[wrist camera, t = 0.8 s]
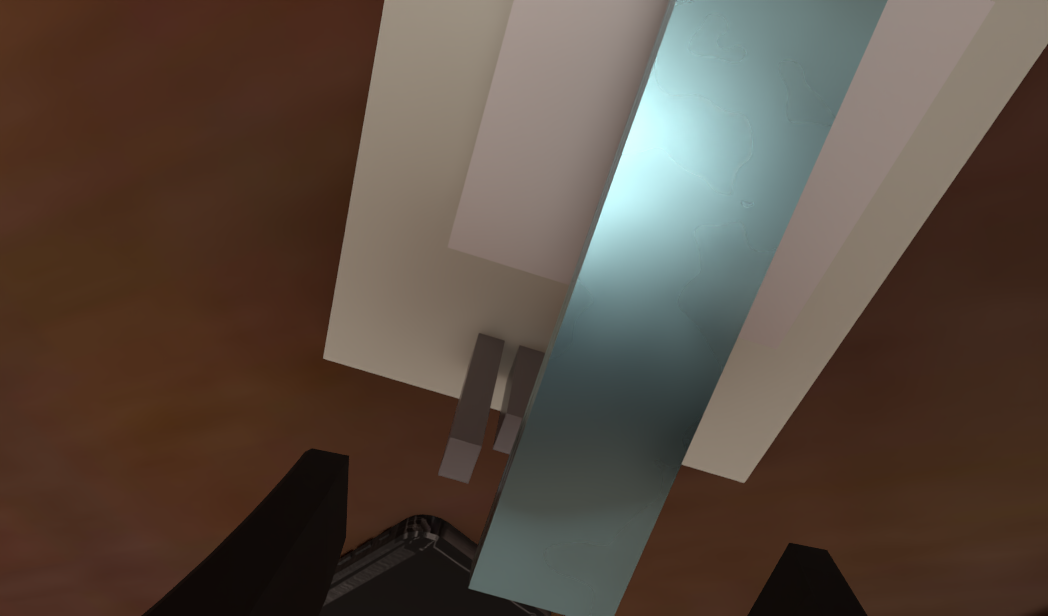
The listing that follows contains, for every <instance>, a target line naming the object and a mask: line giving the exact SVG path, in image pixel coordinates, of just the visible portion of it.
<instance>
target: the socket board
mask: <svg viewBox="0 0 1048 616" xmlns="http://www.w3.org/2000/svg"><path fill="white" fill-rule="evenodd" d="M668 3H669V0H385V2H384V7H383V13H382V19H381V25H380V31H379V36H378V42H377V48H376V54H375V60H374V65H373V71H372V77H371V83H370V89H369V95H368V100H367V106H366V112H365V118H364V124H363V129H362V135H361V141H360V147H359V153H358V159H357V164H356V170H355V176H354V182H353V188H352V193H351V199H350V205H349V211H348V217H347V222H346V228H345V234H344V240H343V246H342V252H341V257H340V263H339V269H338V275H337V281H336V286H335V292H334V298H333V304H332V310H331V316H330V321H329V327H328V333H327V339H326V345H325V350H324V356H323V359H326V360H330V361H333V362H337V363H340V364H343V365H347V366H350V367H353V368H357V369H360V370H364V371H367V372H370V373H374V374H377V375H381V376H384V377H387V378H391V379H394V380H397V381H401V382H404V383H408V384H411V385H414V386H418V387H421V388H425V389H428V390H431V391H435V392H438V393H441V394H445V395H448V396H452V397H455V398H458V399H459V401H458V404H457V408H456V412H455V415H454V419H453V422H452V426H451V430H450V433H449V437H448V440H447V444H446V448H445V451H444V455H443V458H442V462H441V466H440V469H439V473H438V475H440V476H444V477H447V478H451V479H454V480H458V481H461V482H465V483H468V482H469V480H470V477H471V474H472V471H473V469H474V466H475V463H476V461H477V458H478V455H479V452H480V450H481V447H482V443H483V438H484V434H485V429H486V425H487V420H488V416H489V411H490V408H492V409H496V410H499V411H500V416H499V421H498V426H497V431H496V436H495V441H494V446H493V450H496V451H500V452H503V453H507V454H510V453H511V450H512V447H513V444H514V441H515V438H516V436H517V433H518V430H519V427H520V424H521V421H522V418H523V416H524V413H525V410H526V407H527V404H528V401H529V399H530V396H531V393H532V390H533V387H534V384H535V381H536V379H537V376H538V373H539V370H540V367H541V364H542V362H543V359H544V356H545V353H546V350H547V347H548V344H549V342H550V339H551V336H552V333H553V330H554V327H555V325H556V322H557V319H558V316H559V313H560V310H561V307H562V305H563V302H564V299H565V296H566V293H567V290H568V288H569V285H570V282H571V279H572V276H573V273H574V270H575V268H576V265H577V262H578V259H579V256H580V253H581V251H582V248H583V245H584V242H585V239H586V236H587V233H588V231H589V228H590V225H591V222H592V219H593V216H594V214H595V211H596V208H597V205H598V202H599V199H600V196H601V194H602V191H603V188H604V185H605V182H606V179H607V177H608V174H609V171H610V168H611V165H612V162H613V159H614V157H615V154H616V151H617V148H618V145H619V142H620V140H621V137H622V134H623V131H624V128H625V125H626V122H627V120H628V117H629V114H630V111H631V108H632V105H633V103H634V100H635V97H636V94H637V91H638V88H639V86H640V83H641V80H642V77H643V74H644V71H645V68H646V66H647V63H648V60H649V57H650V54H651V51H652V49H653V46H654V43H655V40H656V37H657V34H658V31H659V29H660V26H661V23H662V20H663V17H664V14H665V12H666V9H667V6H668ZM1047 44H1048V0H888V1H887V3H886V5H885V8H884V10H883V12H882V14H881V17H880V19H879V21H878V23H877V26H876V28H875V30H874V32H873V35H872V37H871V39H870V41H869V44H868V46H867V48H866V50H865V53H864V55H863V57H862V59H861V62H860V64H859V66H858V68H857V71H856V73H855V75H854V77H853V80H852V82H851V84H850V86H849V89H848V91H847V93H846V95H845V98H844V100H843V102H842V104H841V107H840V109H839V111H838V113H837V115H836V118H835V120H834V122H833V124H832V127H831V129H830V131H829V133H828V136H827V138H826V140H825V142H824V145H823V147H822V149H821V151H820V154H819V156H818V158H817V160H816V163H815V165H814V167H813V169H812V172H811V174H810V176H809V178H808V181H807V183H806V185H805V187H804V190H803V192H802V194H801V196H800V199H799V201H798V203H797V205H796V208H795V210H794V212H793V214H792V217H791V219H790V221H789V223H788V226H787V228H786V230H785V232H784V235H783V237H782V239H781V241H780V244H779V246H778V248H777V250H776V253H775V255H774V257H773V259H772V262H771V264H770V266H769V268H768V271H767V273H766V275H765V277H764V280H763V282H762V284H761V286H760V289H759V291H758V293H757V295H756V298H755V300H754V302H753V304H752V307H751V309H750V311H749V313H748V316H747V318H746V320H745V322H744V325H743V327H742V329H741V331H740V334H739V336H738V338H737V340H736V343H735V345H734V347H733V349H732V352H731V354H730V356H729V358H728V361H727V363H726V365H725V367H724V370H723V372H722V374H721V376H720V379H719V381H718V383H717V385H716V388H715V390H714V392H713V394H712V396H711V399H710V401H709V403H708V405H707V408H706V410H705V412H704V414H703V417H702V419H701V421H700V423H699V426H698V428H697V430H696V432H695V435H694V437H693V439H692V441H691V444H690V446H689V448H688V450H687V453H686V455H685V457H684V459H683V462H682V465H685V466H689V467H692V468H695V469H699V470H702V471H705V472H709V473H712V474H716V475H719V476H722V477H726V478H729V479H733V480H736V481H739V482H743V483H745V481H746V480H747V478H748V477H749V475H750V474H751V473H752V471H753V470H754V468H755V467H756V465H757V464H758V462H759V461H760V459H761V458H762V457H763V455H764V454H765V452H766V451H767V449H768V448H769V446H770V445H771V444H772V442H773V441H774V439H775V438H776V436H777V435H778V433H779V432H780V431H781V429H782V428H783V426H784V425H785V423H786V422H787V420H788V419H789V417H790V416H791V415H792V413H793V412H794V410H795V409H796V407H797V406H798V404H799V403H800V402H801V400H802V399H803V397H804V396H805V394H806V393H807V391H808V390H809V389H810V387H811V386H812V384H813V383H814V381H815V380H816V378H817V377H818V376H819V374H820V373H821V371H822V370H823V368H824V367H825V365H826V364H827V362H828V361H829V360H830V358H831V357H832V355H833V354H834V352H835V351H836V349H837V348H838V347H839V345H840V344H841V342H842V341H843V339H844V338H845V336H846V335H847V334H848V332H849V331H850V329H851V328H852V326H853V325H854V323H855V322H856V320H857V319H858V318H859V316H860V315H861V313H862V312H863V310H864V309H865V307H866V306H867V305H868V303H869V302H870V300H871V299H872V297H873V296H874V294H875V293H876V292H877V290H878V289H879V287H880V286H881V284H882V283H883V281H884V280H885V279H886V277H887V276H888V274H889V273H890V271H891V270H892V268H893V267H894V265H895V264H896V263H897V261H898V260H899V258H900V257H901V255H902V254H903V252H904V251H905V250H906V248H907V247H908V245H909V244H910V242H911V241H912V239H913V238H914V237H915V235H916V234H917V232H918V231H919V229H920V228H921V226H922V225H923V223H924V222H925V221H926V219H927V218H928V216H929V215H930V213H931V212H932V210H933V209H934V208H935V206H936V205H937V203H938V202H939V200H940V199H941V197H942V196H943V195H944V193H945V192H946V190H947V189H948V187H949V186H950V184H951V183H952V182H953V180H954V179H955V177H956V176H957V174H958V173H959V171H960V170H961V168H962V167H963V166H964V164H965V163H966V161H967V160H968V158H969V157H970V155H971V154H972V153H973V151H974V150H975V148H976V147H977V145H978V144H979V142H980V141H981V140H982V138H983V137H984V135H985V134H986V132H987V131H988V129H989V128H990V126H991V125H992V124H993V122H994V121H995V119H996V118H997V116H998V115H999V113H1000V112H1001V111H1002V109H1003V108H1004V106H1005V105H1006V103H1007V102H1008V100H1009V99H1010V98H1011V96H1012V95H1013V93H1014V92H1015V90H1016V89H1017V87H1018V86H1019V85H1020V83H1021V82H1022V80H1023V79H1024V77H1025V76H1026V74H1027V73H1028V71H1029V70H1030V69H1031V67H1032V66H1033V64H1034V63H1035V61H1036V60H1037V58H1038V57H1039V56H1040V54H1041V53H1042V51H1043V50H1044V48H1045V47H1046V45H1047Z"/></svg>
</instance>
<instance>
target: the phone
mask: <svg viewBox="0 0 1048 616" xmlns="http://www.w3.org/2000/svg"><path fill="white" fill-rule="evenodd" d="M477 546H478V545H477V544H475V543H474V542H473V541H471V540H470V539H469V538H467V537H466V536H465V535H464V534H462V533H461V532H460V531H458V530H457V529H456V528H454V527H453V526H452V525H451V524H449V523H448V522H446V521H444V520H443V519H441V518H438V517H435V516H430V515H415V516H412V517H409V518H407V519H405V520H403V521H402V522H400V523H398V524H397V525H395V526H394V527H392V528H390V529H389V530H387V531H385V532H384V533H382V534H380V535H379V536H377V537H375V538H374V539H372V540H370V541H369V542H367V543H365V544H364V545H362V546H360V547H359V548H357V549H355V550H354V551H352V552H351V553H349V554H347V555H345V556H344V557H342V558H340V559H339V561H338V564H337V567H336V570H335V573H334V576H333V579H332V582H331V585H330V588H329V591H328V594H327V598H326V600H325V602H324V605H323V607H322V609H321V612H320V614H319V616H551V611H548V610H545V609H541V608H537V607H534V606H530V605H527V604H523V603H519V602H516V601H512V600H509V599H505V598H501V597H498V596H494V595H490V594H487V593H483V592H480V591H476V590H472V589H469V588H468V585H469V579H470V572H471V565H472V561H473V558H474V555H475V552H476V549H477Z"/></svg>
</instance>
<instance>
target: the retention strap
mask: <svg viewBox="0 0 1048 616" xmlns="http://www.w3.org/2000/svg"><path fill="white" fill-rule="evenodd" d="M887 1H888V0H669V3H668V6H667V9H666V12H665V14H664V17H663V20H662V23H661V26H660V29H659V31H658V34H657V37H656V40H655V43H654V46H653V49H652V51H651V54H650V57H649V60H648V63H647V66H646V68H645V71H644V74H643V77H642V80H641V83H640V86H639V88H638V91H637V94H636V97H635V100H634V103H633V105H632V108H631V111H630V114H629V117H628V120H627V122H626V125H625V128H624V131H623V134H622V137H621V140H620V142H619V145H618V148H617V151H616V154H615V157H614V159H613V162H612V165H611V168H610V171H609V174H608V177H607V179H606V182H605V185H604V188H603V191H602V194H601V196H600V199H599V202H598V205H597V208H596V211H595V214H594V216H593V219H592V222H591V225H590V228H589V231H588V233H587V236H586V239H585V242H584V245H583V248H582V251H581V253H580V256H579V259H578V262H577V265H576V268H575V270H574V273H573V276H572V279H571V282H570V285H569V288H568V290H567V293H566V296H565V299H564V302H563V305H562V307H561V310H560V313H559V316H558V319H557V322H556V325H555V327H554V330H553V333H552V336H551V339H550V342H549V344H548V347H547V350H546V353H545V356H544V359H543V362H542V364H541V367H540V370H539V373H538V376H537V379H536V381H535V384H534V387H533V390H532V393H531V396H530V399H529V401H528V404H527V407H526V410H525V413H524V416H523V418H522V421H521V424H520V427H519V430H518V433H517V436H516V438H515V441H514V444H513V447H512V450H511V453H510V455H509V458H508V461H507V464H506V467H505V470H504V472H503V475H502V478H501V481H500V484H499V487H498V490H497V492H496V495H495V498H494V501H493V504H492V507H491V509H490V512H489V515H488V518H487V521H486V524H485V527H484V529H483V532H482V535H481V538H480V541H479V544H478V546H477V549H476V552H475V555H474V558H473V561H472V565H471V572H470V579H469V585H468V588H469V589H472V590H476V591H480V592H483V593H487V594H490V595H494V596H498V597H501V598H505V599H509V600H512V601H516V602H519V603H523V604H527V605H530V606H534V607H537V608H541V609H545V610H548V611H552V612H555V613H559V614H563V615H566V616H614V615H615V612H616V610H617V608H618V606H619V603H620V601H621V599H622V597H623V594H624V592H625V590H626V588H627V585H628V583H629V581H630V579H631V576H632V574H633V572H634V570H635V567H636V565H637V563H638V561H639V558H640V556H641V554H642V552H643V549H644V547H645V545H646V543H647V540H648V538H649V536H650V534H651V531H652V529H653V527H654V525H655V522H656V520H657V518H658V516H659V513H660V511H661V509H662V507H663V504H664V502H665V500H666V498H667V495H668V493H669V491H670V489H671V486H672V484H673V482H674V480H675V477H676V475H677V473H678V471H679V468H680V466H681V464H682V462H683V459H684V457H685V455H686V453H687V450H688V448H689V446H690V444H691V441H692V439H693V437H694V435H695V432H696V430H697V428H698V426H699V423H700V421H701V419H702V417H703V414H704V412H705V410H706V408H707V405H708V403H709V401H710V399H711V396H712V394H713V392H714V390H715V388H716V385H717V383H718V381H719V379H720V376H721V374H722V372H723V370H724V367H725V365H726V363H727V361H728V358H729V356H730V354H731V352H732V349H733V347H734V345H735V343H736V340H737V338H738V336H739V334H740V331H741V329H742V327H743V325H744V322H745V320H746V318H747V316H748V313H749V311H750V309H751V307H752V304H753V302H754V300H755V298H756V295H757V293H758V291H759V289H760V286H761V284H762V282H763V280H764V277H765V275H766V273H767V271H768V268H769V266H770V264H771V262H772V259H773V257H774V255H775V253H776V250H777V248H778V246H779V244H780V241H781V239H782V237H783V235H784V232H785V230H786V228H787V226H788V223H789V221H790V219H791V217H792V214H793V212H794V210H795V208H796V205H797V203H798V201H799V199H800V196H801V194H802V192H803V190H804V187H805V185H806V183H807V181H808V178H809V176H810V174H811V172H812V169H813V167H814V165H815V163H816V160H817V158H818V156H819V154H820V151H821V149H822V147H823V145H824V142H825V140H826V138H827V136H828V133H829V131H830V129H831V127H832V124H833V122H834V120H835V118H836V115H837V113H838V111H839V109H840V107H841V104H842V102H843V100H844V98H845V95H846V93H847V91H848V89H849V86H850V84H851V82H852V80H853V77H854V75H855V73H856V71H857V68H858V66H859V64H860V62H861V59H862V57H863V55H864V53H865V50H866V48H867V46H868V44H869V41H870V39H871V37H872V35H873V32H874V30H875V28H876V26H877V23H878V21H879V19H880V17H881V14H882V12H883V10H884V8H885V5H886V3H887Z"/></svg>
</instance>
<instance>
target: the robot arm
mask: <svg viewBox="0 0 1048 616" xmlns="http://www.w3.org/2000/svg"><path fill="white" fill-rule="evenodd" d="M348 466H349V456H347V455H342V454H337V453H332V452H327V451H322V450H317V449H310V450H308V451H306V452H305V453H304V454H303V455H302V456H301V458H300V459H299V460H298V461H297V462H296V464H295V465H294V466H293V467H292V468H291V469H290V471H289V472H288V473H287V474H286V475H285V476H284V478H283V479H282V480H281V481H280V482H279V483H278V484H277V486H276V487H275V488H274V489H273V490H272V491H271V492H270V493H269V494H268V495H267V497H266V498H265V499H264V500H263V501H262V502H261V503H260V504H259V505H258V506H257V507H256V508H255V509H254V510H253V512H252V513H251V514H250V515H249V516H248V517H247V518H246V519H245V520H244V521H243V522H242V523H241V524H240V525H239V526H238V527H237V528H236V529H235V530H234V531H233V532H232V533H231V534H230V535H229V536H228V537H227V538H226V539H225V540H224V541H223V542H222V543H221V544H220V545H219V546H218V547H217V548H216V549H215V550H214V551H213V552H212V553H211V554H210V555H209V556H208V557H207V558H206V559H204V560H203V561H202V562H201V563H200V564H199V565H198V566H197V567H196V568H195V569H194V570H192V571H191V572H190V573H189V574H188V575H187V576H186V577H185V578H184V579H183V580H181V581H180V582H179V583H178V584H177V585H176V586H175V587H174V588H173V589H172V590H171V591H169V592H168V593H167V594H166V595H165V596H164V597H163V598H162V599H161V600H159V601H158V602H157V603H156V604H155V605H154V606H152V607H151V608H150V609H149V610H148V611H147V612H145V613H144V614H143V615H142V616H319V614H320V612H321V609H322V607H323V605H324V602H325V600H326V598H327V594H328V591H329V588H330V585H331V582H332V579H333V576H334V573H335V570H336V567H337V564H338V561H339V558H340V554H341V551H342V548H343V545H344V542H345V539H346V520H347V493H348ZM748 616H867V614H866V613H865V611H864V609H863V608H862V606H861V605H860V603H859V601H858V600H857V598H856V596H855V595H854V593H853V592H852V590H851V588H850V587H849V585H848V583H847V582H846V580H845V579H844V577H843V575H842V574H841V572H840V570H839V569H838V567H837V566H836V564H835V562H834V561H833V559H832V558H831V556H830V554H829V553H828V551H827V550H823V549H818V548H813V547H808V546H803V545H798V544H793V543H789V544H788V546H787V548H786V550H785V551H784V553H783V555H782V557H781V558H780V560H779V562H778V564H777V565H776V567H775V569H774V570H773V572H772V574H771V576H770V577H769V579H768V581H767V583H766V584H765V586H764V588H763V590H762V591H761V593H760V595H759V597H758V598H757V600H756V602H755V603H754V605H753V607H752V609H751V610H750V612H749V614H748Z"/></svg>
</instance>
